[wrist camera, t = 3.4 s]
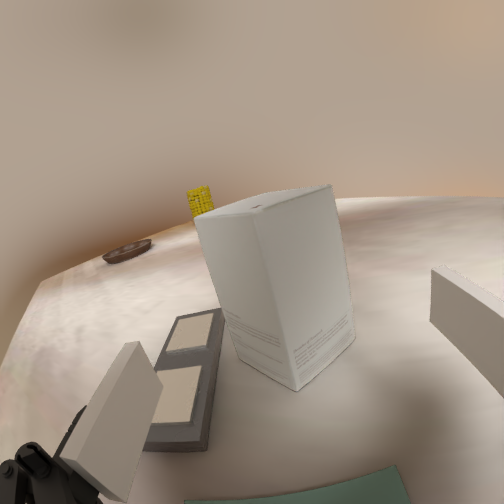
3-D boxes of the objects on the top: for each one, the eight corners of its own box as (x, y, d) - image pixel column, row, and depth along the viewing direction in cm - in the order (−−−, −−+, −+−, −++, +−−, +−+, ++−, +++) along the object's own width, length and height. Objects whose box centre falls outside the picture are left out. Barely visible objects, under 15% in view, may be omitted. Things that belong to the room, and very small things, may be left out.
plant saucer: (153, 243, 96) (150, 235, 95) (155, 252, 80) (152, 242, 79) (108, 260, 91) (105, 252, 90) (101, 271, 75) (98, 262, 74)
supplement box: (358, 339, 21) (336, 181, 18) (295, 395, 17) (249, 211, 14) (296, 318, 27) (266, 190, 24) (236, 358, 23) (189, 215, 20)
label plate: (225, 316, 31) (221, 305, 31) (206, 450, 14) (197, 438, 14) (180, 325, 32) (176, 314, 31) (132, 450, 14) (121, 437, 14)
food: (194, 229, 110) (201, 225, 119) (219, 216, 107) (225, 212, 117) (176, 195, 107) (185, 194, 117) (201, 181, 104) (208, 180, 114)
